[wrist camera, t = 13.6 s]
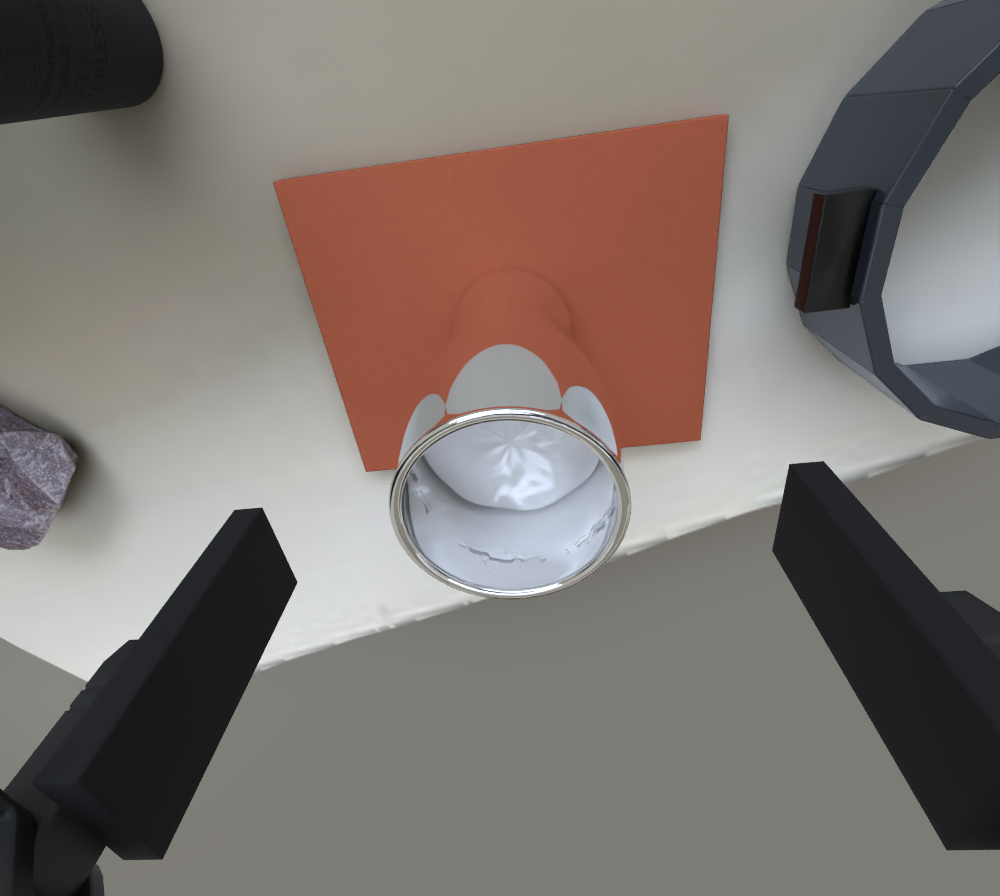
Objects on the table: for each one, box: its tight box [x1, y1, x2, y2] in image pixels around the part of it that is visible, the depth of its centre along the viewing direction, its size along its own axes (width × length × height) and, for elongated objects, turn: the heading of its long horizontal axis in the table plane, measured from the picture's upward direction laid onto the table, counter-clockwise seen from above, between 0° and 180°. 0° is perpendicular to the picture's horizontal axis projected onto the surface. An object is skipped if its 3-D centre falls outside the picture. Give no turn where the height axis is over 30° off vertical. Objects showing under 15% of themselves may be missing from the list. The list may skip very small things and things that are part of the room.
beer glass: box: [389, 270, 631, 599], centre depth 20 cm, size 7×7×15 cm
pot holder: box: [273, 114, 729, 472], centre depth 27 cm, size 20×16×1 cm
